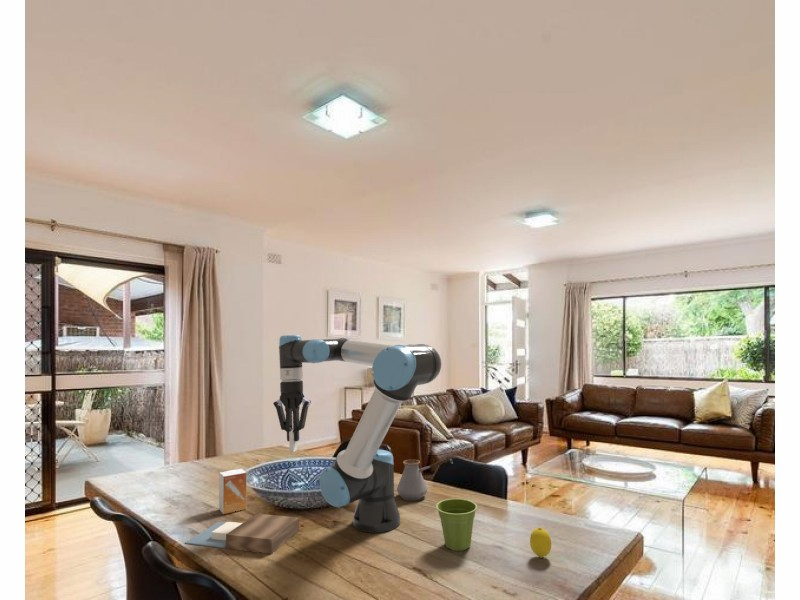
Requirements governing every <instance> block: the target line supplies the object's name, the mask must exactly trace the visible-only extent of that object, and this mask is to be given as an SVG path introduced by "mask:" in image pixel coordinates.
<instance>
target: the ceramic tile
mask: <svg viewBox="0 0 800 600" xmlns="http://www.w3.org/2000/svg"><path fill="white" fill-rule="evenodd" d="M225 522H226V523H225V524H223V525H222V526H220V527H219V528H217V529H215V530H214V531H212V532H211V539H218V540H226V534H227V533H229V532H230V531H232V530H233V529H235V528H236V527H238V526H239V525H241V524H242V523H243V522H235V521H225Z"/></svg>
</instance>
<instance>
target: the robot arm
mask: <svg viewBox="0 0 800 600" xmlns="http://www.w3.org/2000/svg"><path fill="white" fill-rule="evenodd" d="M278 341H279V342H278V344H279V345H278V349H279V350H278V352H279V353H278V355H279V380H281V382H280V383H279V384H280V385H279V386H280V387H279V388H280V390H279V391H280V396H279V398H278V399H277V400H276V401H273V406H274V407H275V409H276V413H277V418H278V420H279V421H278V422H279V426H280V430H282V431H285V432H286V441H287V442H289V453H295V452H296V451H298V442H299V441H300V431H302V430H303V429H304V428H305V427H306V426H305V425H306V421H307V417H308V410H309V407H310V405H311V403H312V401H311V400H310V399H306V398H305V395H304V382H303V379H304V378H303V376H304V375H303V363H304V364H305V363H306V364H309V363H310V364H319V363H323V362H331V361H332V362H333V361H336V362H337V361H339V362H343V363H345V362H346V363H353V364H356V365H357V364H359V365H365V366H371V367H372V368H371V369H372V371H373V373H372V378H373V381H372V384H373V387H374V388H375V389H374V390H373V392H372V394H371V396H370V398H369V400H368V403H367V404H366V406H365V409H364V411H363V413H362V415H361V416H360V417H361V418H360V420H359V422H358V424H357V426H356V427H355V431H354V432H353V434H352V436H351V437H350V441H349V442H348V445H347V447H346V448H345V449H343V450H341V451H340V452H338V454H337V456H336V458H335V459H334V462H333V464H332V465H331V466H327V467H326V468H324V469H322V471H321V473H320V475H319V487H320V491H321V494H322V496H323V498H324V499H325V501H326V502H327V503H328V504H329V505H330V506H333V507H336V508H340V507H344V506H345V507H346V506H348V505H349V504H351V503H354V502H357V503H356V506H355V511H354V514H353V517H352V519H353V520H352V521H353V522H352V523H353V524H352V526H353V527H354V528H355V529H356V530H358V531H361V532H366V533H384V532H389V531H392V530H393V529H396V528H397V527H398V526H399V525H400V524H401V516H400V515H401V514H400V511H399V509H398V505H397V502H396V499H395V482H394V481H395V468H394V466H395V463H394V456H393V453H392V452H390V451H388V450H386V449H385V450H384V449H380V447H381V445H382V443H383V441H384V439H385V437H386V435H387V433H388V432H389V429H390V427H391V425H392V423H393V422H394V419H395V418H396V416H397V414H398V411H399V409H400V407H401V405H402V403H405V402H408V401H409V400H410V399H411V397H412V395H413V394H414V392H415V390H416V388H417V387H418V386H421V385H422V386H423V385H426V384H429V383H432V382H433V381H434V380H435V379H436V378H437V377H438V376H439V374H440V373H441V370H442V359H441V356H440V354H439V352H438V351H437V350H436V348H434V347H433V346H431V345H429V344H424V343H423V344H422V343H421V344H420V343H419V344H407V345H403V344H395V345H390V344H385V343H384V344H382V343H377V342H376V343H374V342H368V341H367V342H366V341H360V340H352V339H350V338H344V337H342V338H331V339H330V338H329V339H328V338H326V339H304V340H302V335H300V334H289V335H287V334H286V335H280V337H279V340H278ZM301 404H302V407H301V409H300V406H301ZM300 410H301V412H300Z"/></svg>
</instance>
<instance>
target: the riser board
mask: <svg viewBox="0 0 800 600" xmlns="http://www.w3.org/2000/svg"><path fill="white" fill-rule="evenodd" d="M241 523H242V524H241V525H239V526H238V527H236V528H235V529H233V530H232V531H230V532H229V533H227V534H226V547H225V549H227V550H234V549H235V551H242V550H244V552H250V551H253V552H252V553H259V552H262V553H261V554H267V553H269V554H270V555H273V554H274V553H275V552H276V551H278V549H280V548H281V547H282V546H283V545H284V544H285V543H287V540H288V541H289V540H290V539H291V538H293V537H294V536H295V535H296V534H297V533H299V531H300V517H295V516H284V515H276V514H275V515H274V514H264V513H256V514H255V515H253V516H251V517H249V518H248V519H247V520H246V521H244V522H241ZM281 545H282V546H281ZM280 546H281V547H280ZM273 552H274V553H273ZM269 554H268V555H269Z"/></svg>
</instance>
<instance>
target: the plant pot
mask: <svg viewBox="0 0 800 600" xmlns="http://www.w3.org/2000/svg"><path fill="white" fill-rule="evenodd" d="M435 508H436V510H437V511H438V516H439V518H440V523H441V524H440V525H441V528H442V534H443V539H444V544H445V547H446V548H447V549H450V550H452V551H453V552H454V551H455V552H458V551H459V552H462V551H465V550H467V549H469V548H470V547H471V543H472V538H473V537H472V535H473V528H474V518H475V516H476V511H477V510H478V505H477V503H476V502H474V501H472V500H469V499H464V498H447V499H443V500H441V501H438V502H437V503H436V504H435Z"/></svg>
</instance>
